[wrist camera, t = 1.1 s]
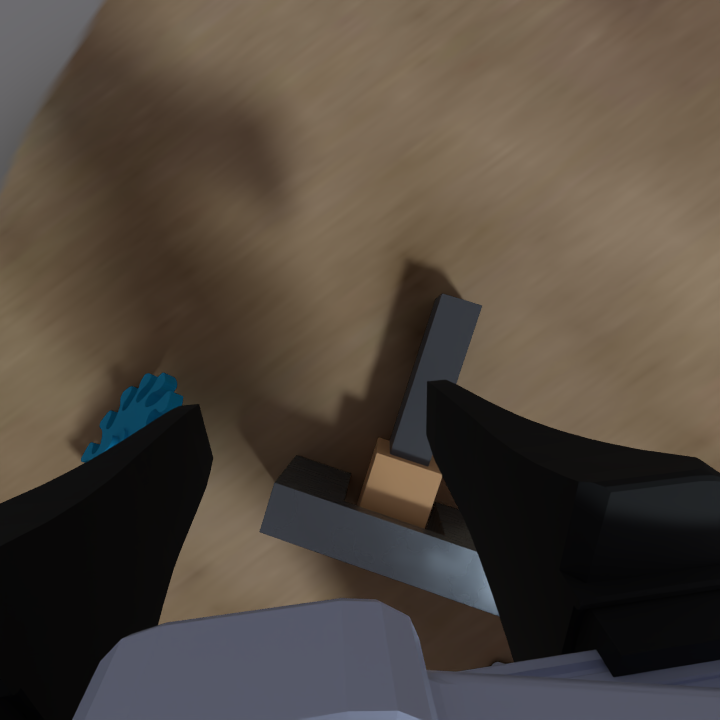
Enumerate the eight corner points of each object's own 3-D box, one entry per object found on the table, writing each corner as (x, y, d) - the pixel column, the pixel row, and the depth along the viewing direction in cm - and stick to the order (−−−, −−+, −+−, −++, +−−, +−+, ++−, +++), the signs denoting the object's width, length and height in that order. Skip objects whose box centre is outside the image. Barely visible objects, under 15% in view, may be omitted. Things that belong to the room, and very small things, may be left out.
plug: (423, 295, 24) (430, 287, 21) (482, 313, 24) (498, 308, 21) (356, 504, 25) (351, 531, 22) (412, 523, 25) (416, 553, 22)
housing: (492, 521, 25) (519, 566, 20) (478, 561, 25) (501, 616, 20) (296, 455, 25) (274, 482, 21) (284, 495, 26) (259, 532, 21)
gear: (164, 338, 24) (154, 467, 17) (237, 376, 28) (252, 493, 21) (67, 435, 27) (24, 582, 20) (147, 457, 31) (134, 585, 24)
